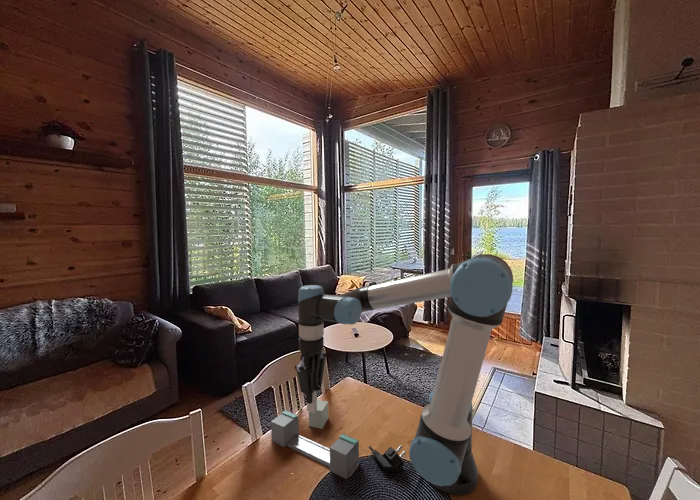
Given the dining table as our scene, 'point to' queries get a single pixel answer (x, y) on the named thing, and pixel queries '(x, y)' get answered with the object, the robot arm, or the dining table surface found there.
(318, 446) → the rail
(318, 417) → the block
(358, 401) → the dining table surface
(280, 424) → the block
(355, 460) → the block
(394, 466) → the power plug
